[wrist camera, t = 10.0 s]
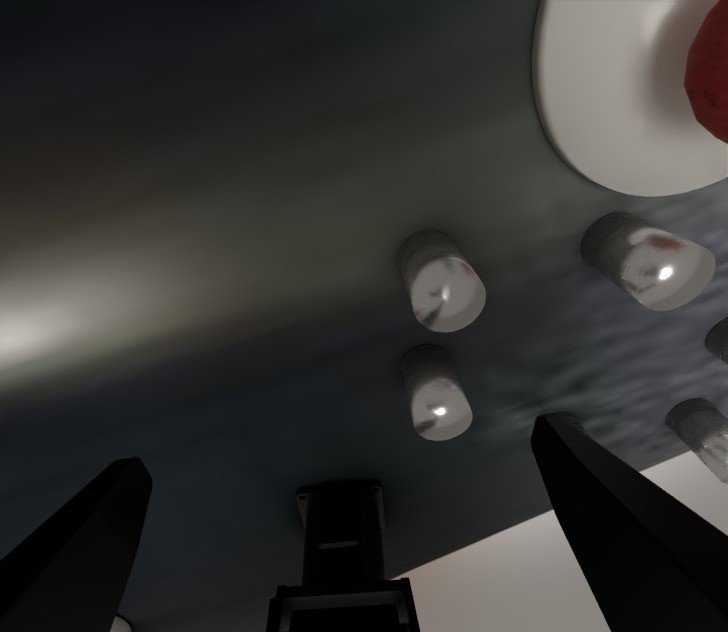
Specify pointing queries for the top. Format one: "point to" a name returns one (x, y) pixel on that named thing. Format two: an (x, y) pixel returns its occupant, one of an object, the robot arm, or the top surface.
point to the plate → (624, 93)
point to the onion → (710, 72)
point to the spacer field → (606, 255)
